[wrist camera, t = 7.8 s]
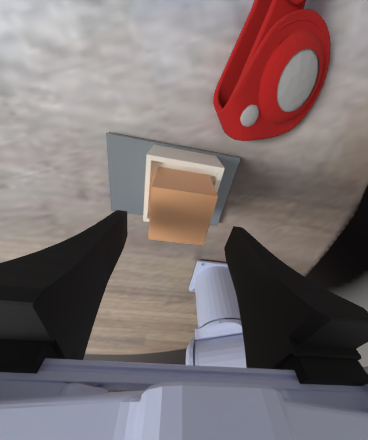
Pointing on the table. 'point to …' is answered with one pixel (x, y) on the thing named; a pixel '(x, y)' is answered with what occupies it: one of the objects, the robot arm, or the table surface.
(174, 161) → the cream base block
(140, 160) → the baseplate
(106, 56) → the table surface
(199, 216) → the orange block
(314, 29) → the tracker holder
